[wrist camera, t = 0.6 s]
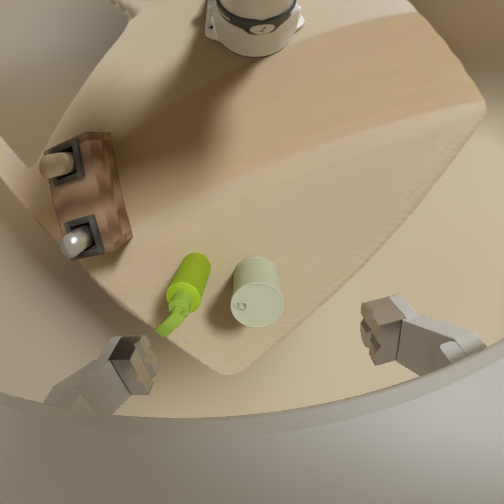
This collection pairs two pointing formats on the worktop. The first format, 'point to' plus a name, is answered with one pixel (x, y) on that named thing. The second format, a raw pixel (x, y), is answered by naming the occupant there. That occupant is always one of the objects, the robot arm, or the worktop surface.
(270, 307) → the can
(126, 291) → the worktop surface
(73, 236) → the steel peg
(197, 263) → the soap dispenser
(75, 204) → the walnut block
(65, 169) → the maple peg
